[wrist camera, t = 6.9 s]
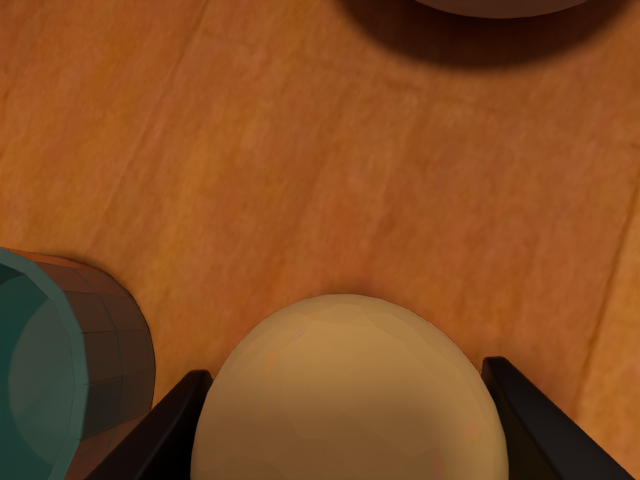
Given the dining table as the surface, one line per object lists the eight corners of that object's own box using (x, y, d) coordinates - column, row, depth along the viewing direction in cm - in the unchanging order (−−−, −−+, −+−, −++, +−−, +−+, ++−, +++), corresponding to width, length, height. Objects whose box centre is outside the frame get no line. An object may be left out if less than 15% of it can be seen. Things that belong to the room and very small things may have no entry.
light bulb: (470, 363, 15) (651, 418, 5) (393, 522, 14) (439, 942, 4) (327, 283, 16) (262, 210, 7) (248, 422, 15) (43, 571, 6)
